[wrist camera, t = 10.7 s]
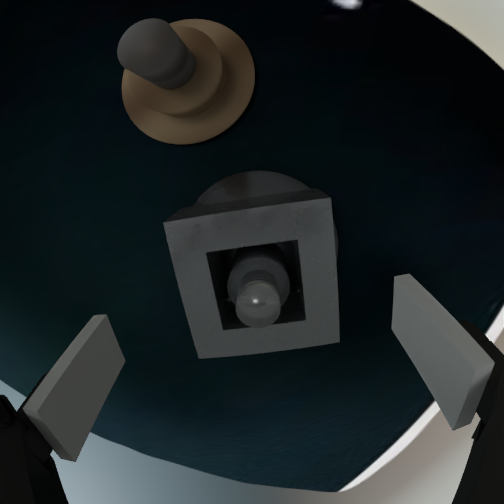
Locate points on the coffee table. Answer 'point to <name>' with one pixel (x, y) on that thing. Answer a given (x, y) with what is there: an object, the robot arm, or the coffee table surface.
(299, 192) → the collar
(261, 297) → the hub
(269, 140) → the coffee table surface
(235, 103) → the stand
